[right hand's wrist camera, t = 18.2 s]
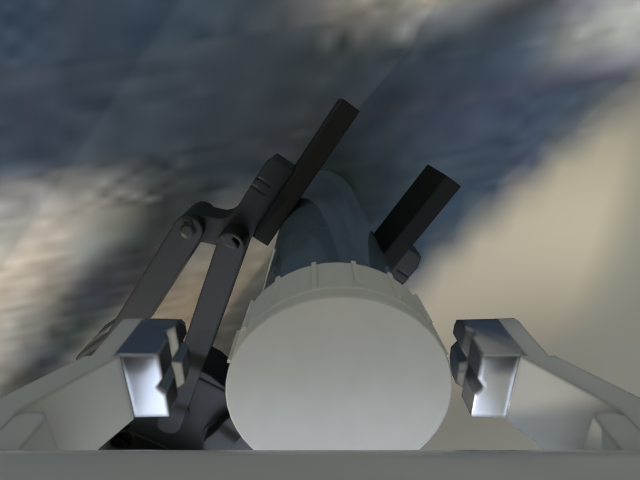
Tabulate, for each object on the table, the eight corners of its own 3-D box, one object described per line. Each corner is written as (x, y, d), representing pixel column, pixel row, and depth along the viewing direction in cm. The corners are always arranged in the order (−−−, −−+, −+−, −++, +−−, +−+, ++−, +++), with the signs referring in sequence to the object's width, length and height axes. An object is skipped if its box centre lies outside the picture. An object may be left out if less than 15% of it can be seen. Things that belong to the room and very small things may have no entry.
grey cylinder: (302, 158, 22) (287, 262, 8) (368, 187, 23) (465, 333, 9) (275, 222, 24) (217, 413, 9) (337, 248, 24) (377, 465, 10)
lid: (296, 449, 11) (294, 508, 9) (197, 315, 9) (173, 358, 8) (459, 380, 10) (487, 431, 9) (380, 222, 9) (397, 249, 7)
